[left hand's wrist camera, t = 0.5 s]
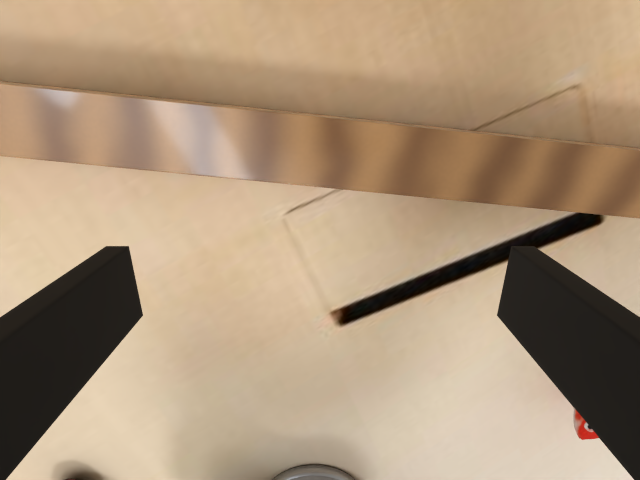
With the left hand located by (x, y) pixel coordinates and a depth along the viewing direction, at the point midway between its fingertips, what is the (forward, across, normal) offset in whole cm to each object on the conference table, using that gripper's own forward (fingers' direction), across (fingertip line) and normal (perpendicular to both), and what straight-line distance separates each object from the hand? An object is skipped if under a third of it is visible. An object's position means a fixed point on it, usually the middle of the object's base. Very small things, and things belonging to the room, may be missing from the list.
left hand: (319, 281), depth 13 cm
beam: (+26, +4, -2) cm, 27 cm away
